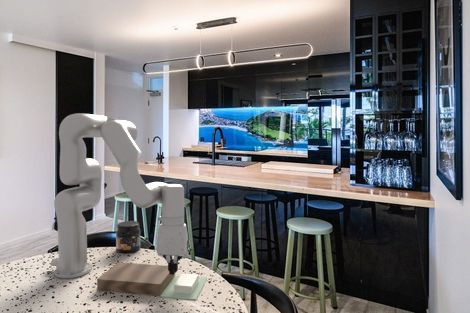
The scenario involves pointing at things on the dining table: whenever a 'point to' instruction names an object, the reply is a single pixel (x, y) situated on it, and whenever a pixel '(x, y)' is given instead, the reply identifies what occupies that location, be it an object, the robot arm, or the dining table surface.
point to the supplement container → (128, 237)
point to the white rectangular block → (186, 283)
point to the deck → (135, 279)
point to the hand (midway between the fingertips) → (173, 273)
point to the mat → (171, 294)
